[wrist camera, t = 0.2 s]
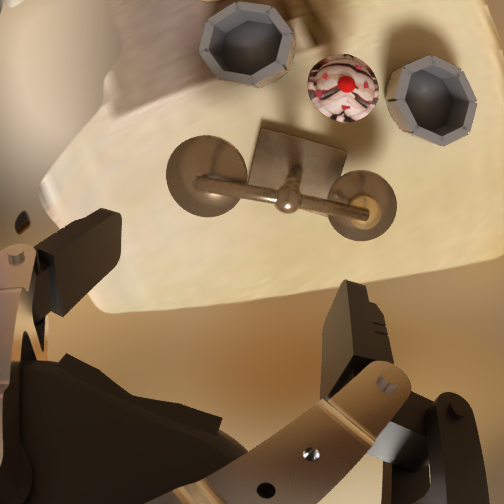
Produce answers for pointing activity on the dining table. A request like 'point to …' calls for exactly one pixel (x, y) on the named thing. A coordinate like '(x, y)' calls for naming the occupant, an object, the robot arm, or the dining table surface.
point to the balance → (281, 182)
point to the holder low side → (431, 100)
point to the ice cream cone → (343, 88)
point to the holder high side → (247, 44)
